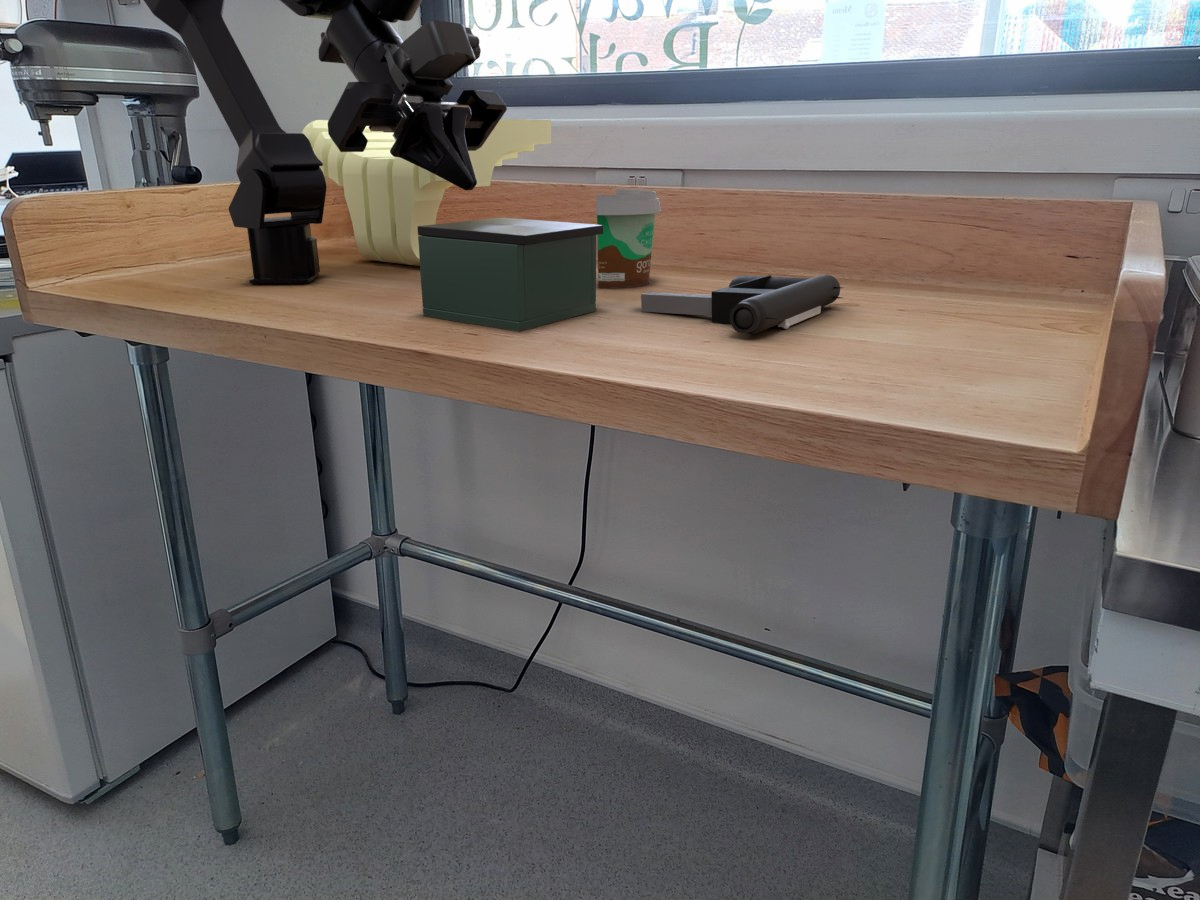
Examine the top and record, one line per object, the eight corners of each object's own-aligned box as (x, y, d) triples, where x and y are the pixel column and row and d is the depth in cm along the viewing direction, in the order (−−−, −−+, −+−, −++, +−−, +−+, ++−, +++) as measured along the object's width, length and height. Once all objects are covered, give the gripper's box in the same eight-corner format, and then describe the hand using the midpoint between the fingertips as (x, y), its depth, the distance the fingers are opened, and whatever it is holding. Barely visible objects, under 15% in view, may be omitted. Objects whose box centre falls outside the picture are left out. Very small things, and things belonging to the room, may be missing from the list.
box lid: (603, 233, 79) (603, 225, 79) (524, 245, 70) (524, 235, 70) (501, 225, 86) (501, 217, 86) (417, 235, 77) (417, 226, 77)
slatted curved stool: (310, 257, 118) (296, 119, 112) (399, 246, 130) (389, 121, 124) (468, 277, 101) (461, 117, 95) (552, 263, 114) (550, 120, 108)
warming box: (596, 311, 82) (596, 233, 80) (519, 331, 73) (517, 244, 71) (504, 298, 88) (501, 226, 86) (423, 316, 79) (417, 235, 77)
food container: (650, 292, 93) (653, 196, 89) (595, 289, 94) (595, 195, 90) (665, 275, 104) (668, 189, 101) (615, 273, 105) (616, 188, 102)
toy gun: (606, 294, 77) (772, 302, 68) (709, 269, 93) (856, 273, 84) (607, 330, 78) (772, 343, 69) (709, 300, 94) (854, 307, 85)
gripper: (335, -27, 69) (442, 119, 67) (489, 2, 84) (580, 123, 82) (285, 81, 76) (381, 216, 74) (435, 91, 91) (518, 204, 89)
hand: (472, 187), depth 79 cm, fingers closed
